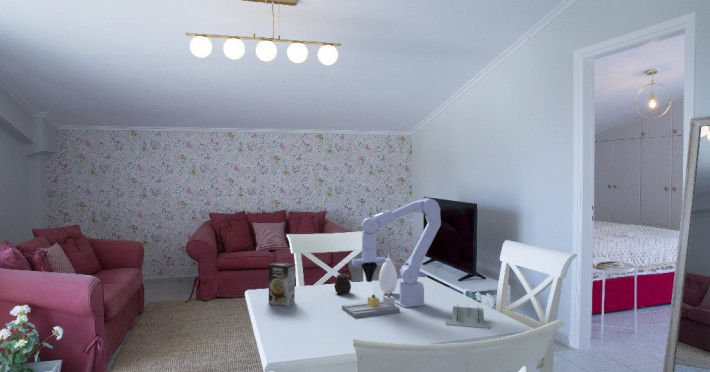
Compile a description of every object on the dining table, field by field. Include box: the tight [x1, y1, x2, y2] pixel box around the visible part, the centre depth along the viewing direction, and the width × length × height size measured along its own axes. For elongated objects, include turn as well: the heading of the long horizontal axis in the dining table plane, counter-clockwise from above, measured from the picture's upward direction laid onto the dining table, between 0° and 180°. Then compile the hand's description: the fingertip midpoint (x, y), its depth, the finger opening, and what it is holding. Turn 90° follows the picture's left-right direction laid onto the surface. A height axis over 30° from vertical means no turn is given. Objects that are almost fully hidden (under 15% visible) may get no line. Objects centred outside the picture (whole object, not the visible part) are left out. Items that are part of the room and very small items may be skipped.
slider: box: [367, 294, 380, 307], centre depth 186 cm, size 3×4×4 cm
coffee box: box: [268, 261, 296, 307], centre depth 195 cm, size 9×6×16 cm
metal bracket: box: [445, 304, 491, 330], centre depth 173 cm, size 14×6×15 cm
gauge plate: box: [341, 293, 401, 319], centre depth 186 cm, size 19×12×6 cm, turn 114°
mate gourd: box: [334, 272, 352, 295], centre depth 211 cm, size 7×8×10 cm
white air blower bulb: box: [378, 252, 398, 295], centre depth 211 cm, size 8×8×18 cm
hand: (368, 281), depth 194 cm, fingers closed
